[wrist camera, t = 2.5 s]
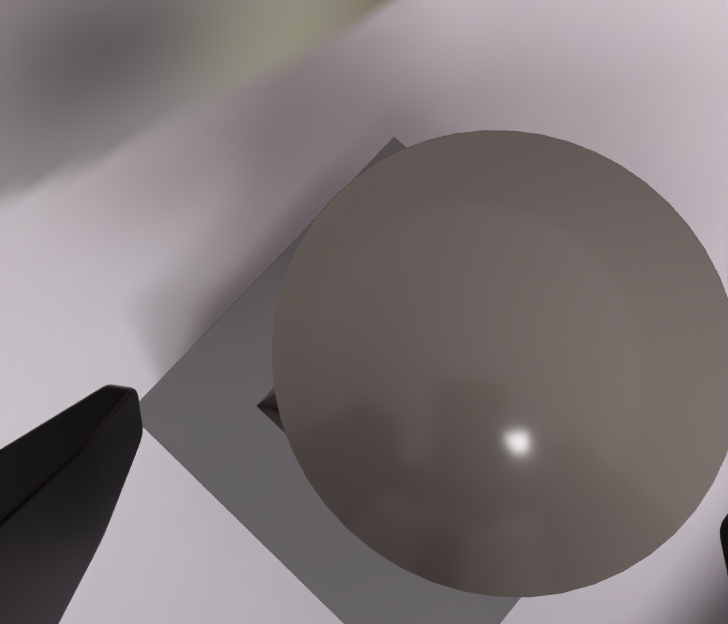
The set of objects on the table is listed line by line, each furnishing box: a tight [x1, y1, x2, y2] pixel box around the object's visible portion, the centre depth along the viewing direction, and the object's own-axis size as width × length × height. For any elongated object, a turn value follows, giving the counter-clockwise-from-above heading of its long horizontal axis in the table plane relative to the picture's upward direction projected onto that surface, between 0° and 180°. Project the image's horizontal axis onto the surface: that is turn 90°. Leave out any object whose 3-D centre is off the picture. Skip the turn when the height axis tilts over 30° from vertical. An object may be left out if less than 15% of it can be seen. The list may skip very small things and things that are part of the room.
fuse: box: [271, 130, 728, 597], centre depth 11 cm, size 4×4×13 cm
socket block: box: [139, 138, 521, 624], centre depth 16 cm, size 10×10×3 cm
